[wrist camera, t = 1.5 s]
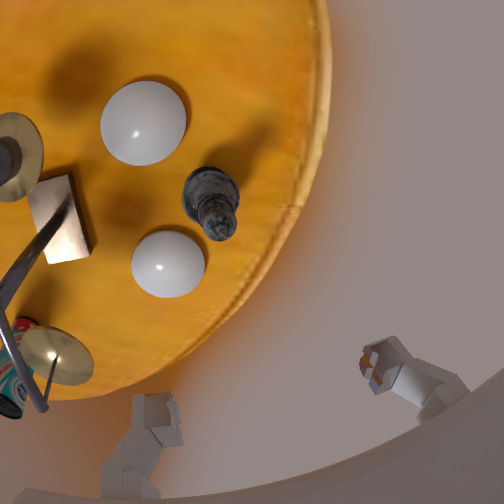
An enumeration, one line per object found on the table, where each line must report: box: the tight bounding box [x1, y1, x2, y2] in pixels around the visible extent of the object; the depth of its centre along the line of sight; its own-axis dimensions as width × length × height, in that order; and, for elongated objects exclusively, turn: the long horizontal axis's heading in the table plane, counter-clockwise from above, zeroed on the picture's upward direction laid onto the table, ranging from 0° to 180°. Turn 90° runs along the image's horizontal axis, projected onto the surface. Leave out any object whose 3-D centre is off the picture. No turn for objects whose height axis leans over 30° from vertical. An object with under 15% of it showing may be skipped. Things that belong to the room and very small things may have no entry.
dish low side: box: [100, 81, 186, 166], centre depth 27 cm, size 9×9×1 cm
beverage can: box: [0, 317, 40, 419], centre depth 29 cm, size 6×6×15 cm
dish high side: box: [131, 230, 205, 298], centre depth 36 cm, size 9×9×1 cm
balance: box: [0, 112, 94, 413], centre depth 21 cm, size 26×8×20 cm, turn 3°
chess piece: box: [182, 166, 240, 241], centre depth 28 cm, size 6×6×12 cm
